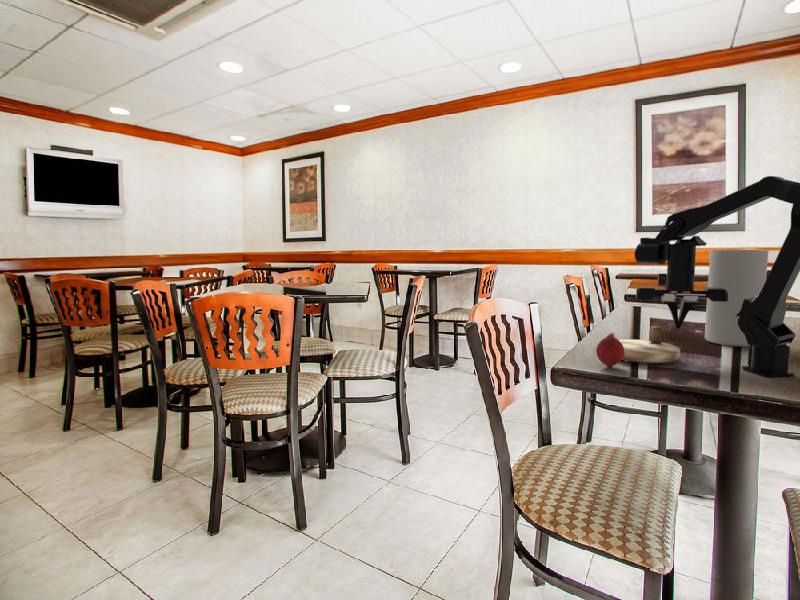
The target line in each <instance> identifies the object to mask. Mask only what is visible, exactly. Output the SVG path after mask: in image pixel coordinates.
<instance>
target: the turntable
mask: <svg viewBox="0 0 800 600" xmlns="http://www.w3.org/2000/svg"><path fill="white" fill-rule="evenodd" d="M662 329H663V327H662V326H658V325H655V326H654V325H652V326H650V337H649V338H650V339H649V340H646V339H618V340H619V341H620V342H621V343H622V345H623V347H624V357H623V359H625V360H631V361H639V362H667V363H670V362H675V361H678V360H680V358H681V348H680V347H678V346H676V345H673V344H671V343H667V342H662Z"/></svg>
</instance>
